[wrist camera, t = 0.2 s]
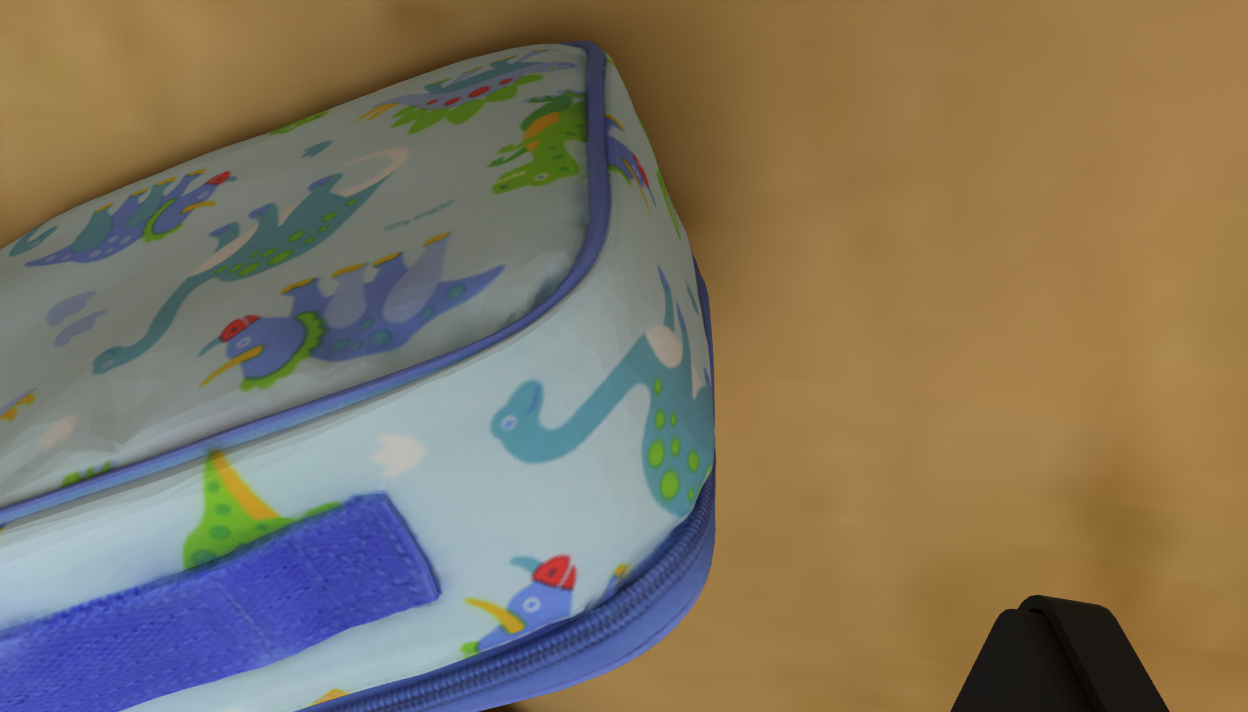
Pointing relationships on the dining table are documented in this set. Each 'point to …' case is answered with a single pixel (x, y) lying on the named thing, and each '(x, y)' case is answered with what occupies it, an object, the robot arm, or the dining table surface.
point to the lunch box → (360, 410)
